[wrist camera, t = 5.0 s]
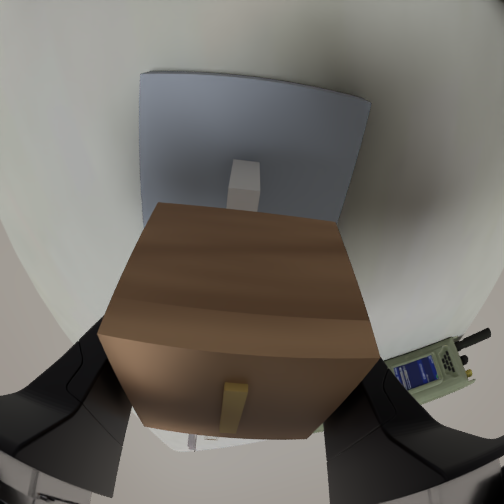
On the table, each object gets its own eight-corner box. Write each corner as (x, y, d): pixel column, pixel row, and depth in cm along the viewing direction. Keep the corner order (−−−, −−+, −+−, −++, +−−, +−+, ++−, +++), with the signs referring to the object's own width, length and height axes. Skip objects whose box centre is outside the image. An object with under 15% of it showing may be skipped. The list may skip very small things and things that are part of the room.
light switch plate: (149, 71, 14) (111, 82, 10) (362, 97, 15) (399, 119, 11) (152, 243, 21) (132, 292, 17) (316, 260, 22) (327, 312, 18)
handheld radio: (301, 379, 34) (488, 316, 28) (307, 388, 36) (483, 330, 30) (305, 429, 29) (509, 360, 23) (312, 435, 31) (501, 371, 25)
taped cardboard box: (158, 202, 9) (93, 341, 5) (335, 222, 9) (382, 365, 5) (167, 317, 12) (143, 431, 8) (296, 330, 13) (307, 444, 9)
